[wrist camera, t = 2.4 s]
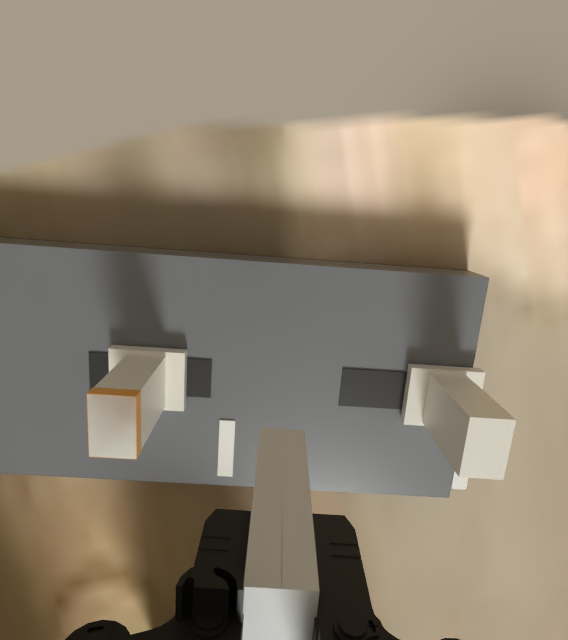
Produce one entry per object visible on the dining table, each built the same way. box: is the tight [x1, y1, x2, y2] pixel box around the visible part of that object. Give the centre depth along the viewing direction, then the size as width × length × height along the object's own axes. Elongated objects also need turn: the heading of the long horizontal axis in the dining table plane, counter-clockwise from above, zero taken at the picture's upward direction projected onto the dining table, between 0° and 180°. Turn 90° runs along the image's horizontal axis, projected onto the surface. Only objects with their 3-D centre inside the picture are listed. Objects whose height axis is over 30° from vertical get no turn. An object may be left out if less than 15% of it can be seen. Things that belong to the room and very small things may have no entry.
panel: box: [0, 237, 489, 498], centre depth 24 cm, size 33×12×3 cm, turn 86°
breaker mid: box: [87, 345, 187, 460], centre depth 20 cm, size 4×3×5 cm
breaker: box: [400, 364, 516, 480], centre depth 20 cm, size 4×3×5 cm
